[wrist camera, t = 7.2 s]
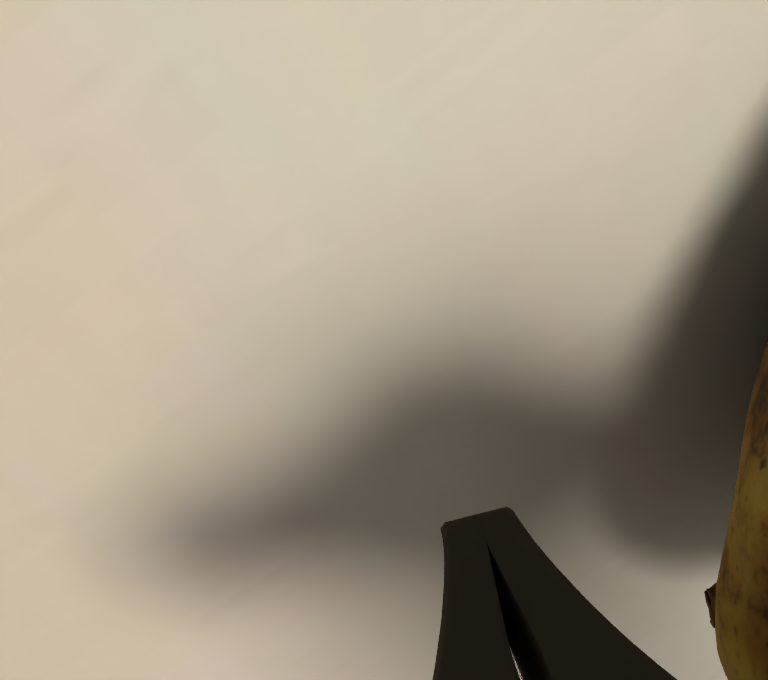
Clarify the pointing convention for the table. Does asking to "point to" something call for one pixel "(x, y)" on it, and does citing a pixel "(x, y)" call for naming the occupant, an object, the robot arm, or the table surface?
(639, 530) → the table surface
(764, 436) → the potato
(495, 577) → the robot arm
